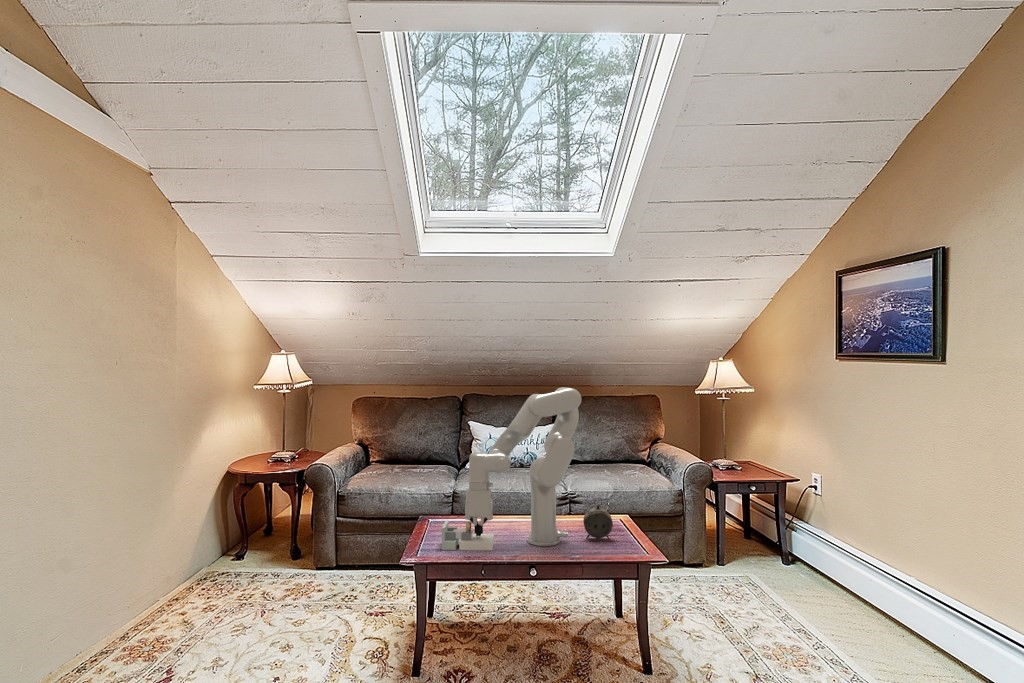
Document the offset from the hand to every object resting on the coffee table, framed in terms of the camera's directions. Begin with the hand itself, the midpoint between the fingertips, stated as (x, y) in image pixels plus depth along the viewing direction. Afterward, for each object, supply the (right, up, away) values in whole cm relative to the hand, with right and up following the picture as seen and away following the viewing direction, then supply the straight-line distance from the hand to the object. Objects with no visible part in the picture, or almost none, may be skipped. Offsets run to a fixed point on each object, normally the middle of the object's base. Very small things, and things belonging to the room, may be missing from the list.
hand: (478, 535), depth 209 cm
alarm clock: (+46, -4, +6) cm, 46 cm away
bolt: (-6, -1, 0) cm, 6 cm away
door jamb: (-11, -4, 0) cm, 11 cm away
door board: (-1, -4, 0) cm, 4 cm away
